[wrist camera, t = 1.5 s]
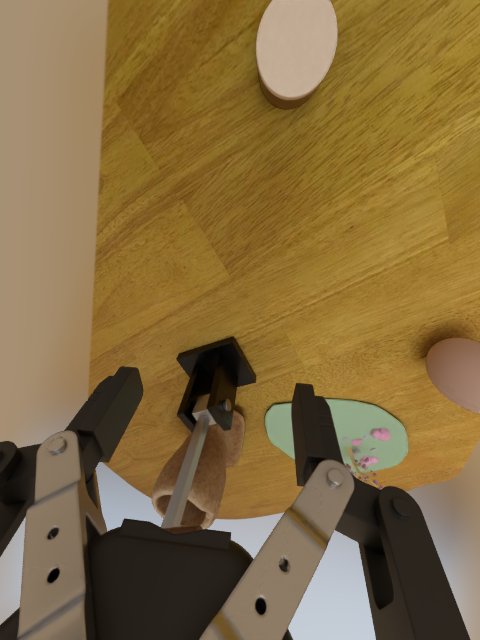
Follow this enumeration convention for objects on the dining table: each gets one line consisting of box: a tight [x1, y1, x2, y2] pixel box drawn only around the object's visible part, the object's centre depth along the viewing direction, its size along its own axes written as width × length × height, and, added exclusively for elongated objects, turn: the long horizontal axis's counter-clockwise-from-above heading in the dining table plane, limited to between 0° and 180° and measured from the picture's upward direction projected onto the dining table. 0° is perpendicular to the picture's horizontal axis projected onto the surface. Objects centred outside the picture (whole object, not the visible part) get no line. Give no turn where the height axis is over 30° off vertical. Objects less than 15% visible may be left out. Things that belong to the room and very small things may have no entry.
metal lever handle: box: [161, 394, 217, 534], centre depth 26 cm, size 15×6×2 cm
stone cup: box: [152, 410, 245, 529], centre depth 40 cm, size 15×12×15 cm
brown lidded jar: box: [256, 0, 338, 109], centre depth 18 cm, size 5×5×5 cm
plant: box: [265, 399, 408, 489], centre depth 41 cm, size 25×21×9 cm
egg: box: [426, 338, 480, 413], centre depth 28 cm, size 7×7×10 cm
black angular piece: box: [176, 336, 256, 433], centre depth 34 cm, size 8×9×10 cm
